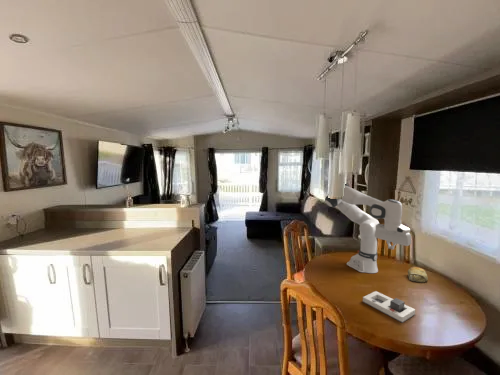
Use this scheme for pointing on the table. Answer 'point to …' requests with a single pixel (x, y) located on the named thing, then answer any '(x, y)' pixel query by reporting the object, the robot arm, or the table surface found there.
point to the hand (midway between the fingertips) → (391, 248)
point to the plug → (397, 305)
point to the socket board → (387, 306)
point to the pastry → (417, 274)
